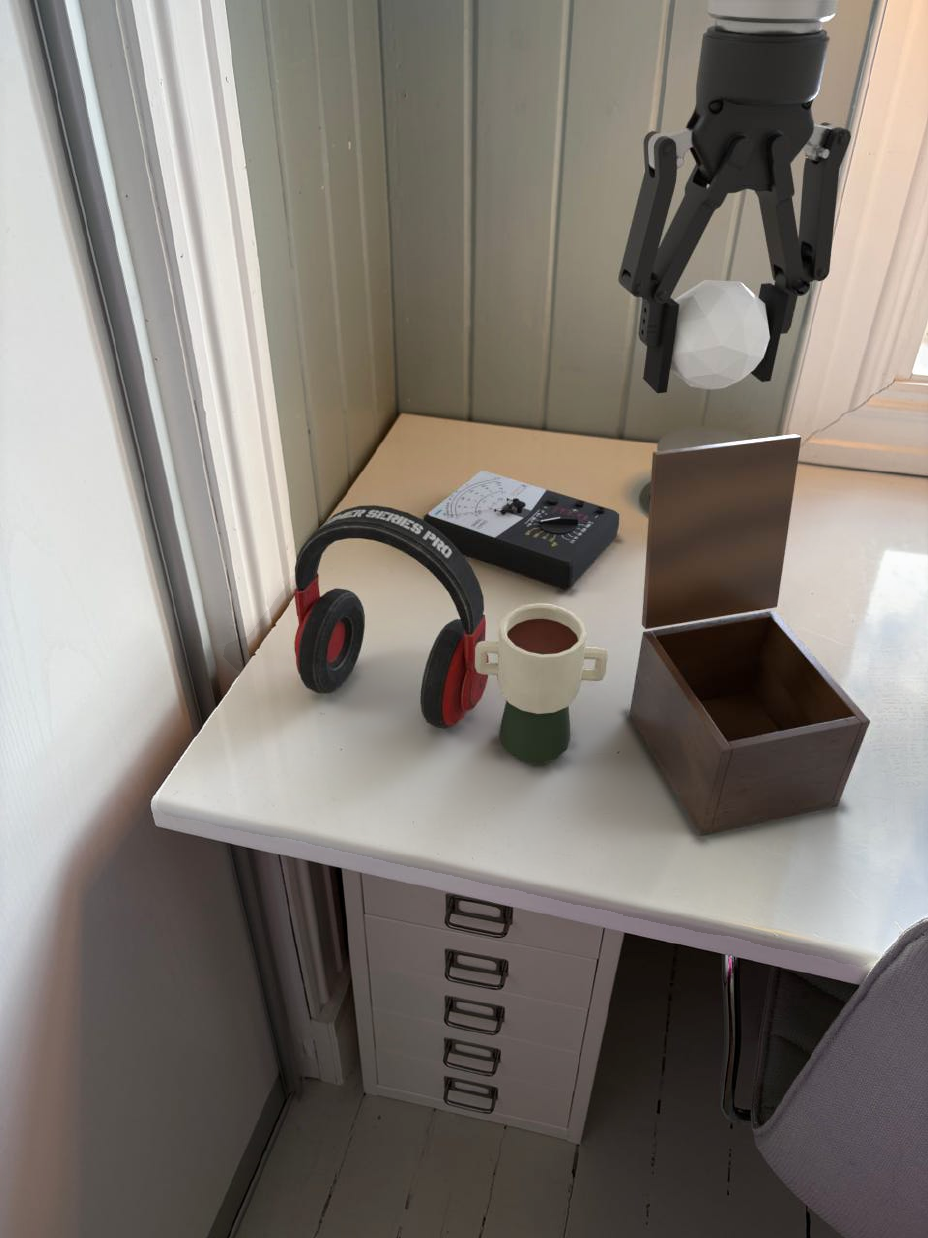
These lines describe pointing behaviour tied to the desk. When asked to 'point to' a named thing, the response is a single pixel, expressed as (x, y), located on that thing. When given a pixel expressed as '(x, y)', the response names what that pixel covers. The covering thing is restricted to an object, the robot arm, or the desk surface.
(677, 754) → the chest
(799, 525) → the desk surface
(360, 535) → the headphones
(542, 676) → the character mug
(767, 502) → the chest lid
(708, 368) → the geometric ball
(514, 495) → the multimeter
